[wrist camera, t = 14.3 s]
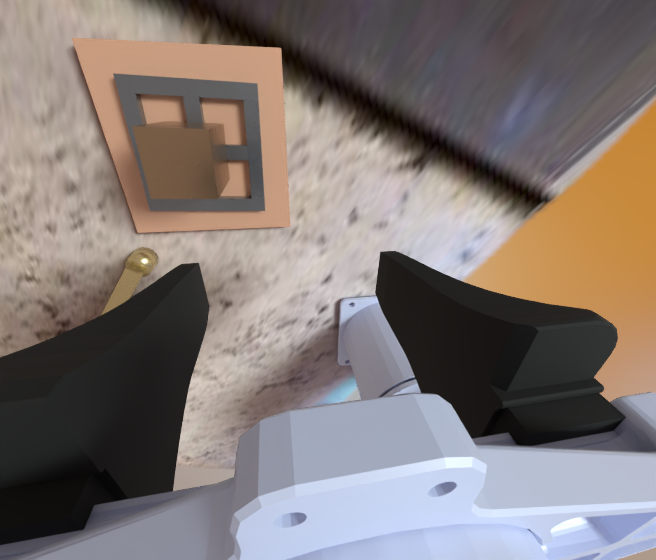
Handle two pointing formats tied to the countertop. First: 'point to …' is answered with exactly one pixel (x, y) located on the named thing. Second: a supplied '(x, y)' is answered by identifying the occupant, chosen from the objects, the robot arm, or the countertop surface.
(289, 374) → the countertop surface
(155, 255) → the brass bent rod
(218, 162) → the grey window frame
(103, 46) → the tile
